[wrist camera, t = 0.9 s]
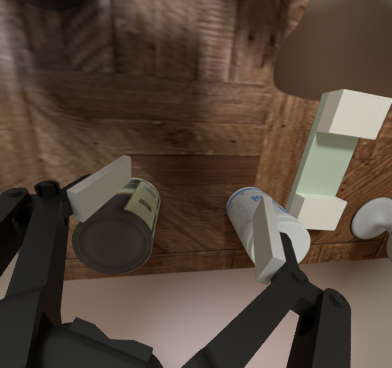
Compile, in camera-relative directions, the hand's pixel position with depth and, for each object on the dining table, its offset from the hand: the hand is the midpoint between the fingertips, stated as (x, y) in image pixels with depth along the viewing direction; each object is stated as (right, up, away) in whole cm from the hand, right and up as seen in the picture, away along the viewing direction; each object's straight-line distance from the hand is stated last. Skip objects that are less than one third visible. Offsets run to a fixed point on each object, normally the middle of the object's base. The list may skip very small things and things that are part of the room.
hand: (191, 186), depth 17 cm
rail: (+28, +4, +21) cm, 35 cm away
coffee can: (-12, -3, +20) cm, 23 cm away
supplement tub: (+12, -4, +23) cm, 26 cm away
